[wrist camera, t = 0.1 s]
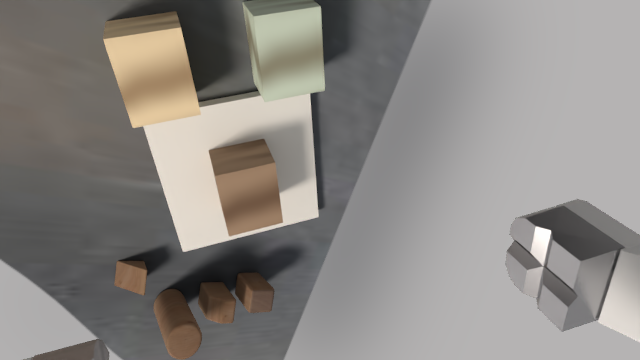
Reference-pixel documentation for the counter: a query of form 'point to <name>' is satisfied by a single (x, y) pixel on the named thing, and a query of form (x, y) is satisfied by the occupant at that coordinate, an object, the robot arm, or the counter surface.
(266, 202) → the walnut base brick
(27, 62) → the counter surface
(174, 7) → the counter surface
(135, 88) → the oak brick
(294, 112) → the baseplate
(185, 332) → the wooden block set
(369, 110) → the counter surface
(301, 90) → the sage brick
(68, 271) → the counter surface
